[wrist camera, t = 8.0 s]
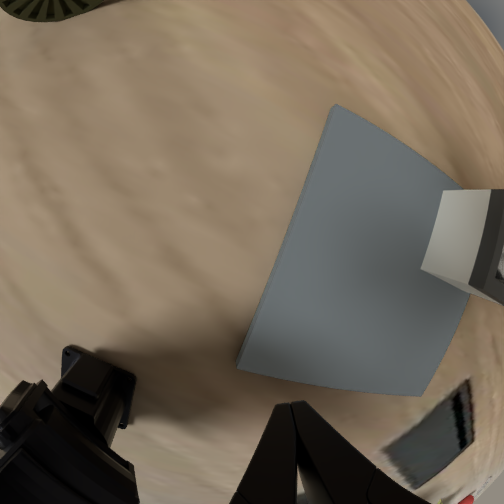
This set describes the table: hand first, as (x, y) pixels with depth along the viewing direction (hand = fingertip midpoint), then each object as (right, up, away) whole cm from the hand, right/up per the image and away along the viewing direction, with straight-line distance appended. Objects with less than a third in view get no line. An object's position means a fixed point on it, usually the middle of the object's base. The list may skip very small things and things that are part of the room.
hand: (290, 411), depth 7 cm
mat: (+10, +2, +14) cm, 17 cm away
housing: (+17, +5, +14) cm, 23 cm away
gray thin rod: (+77, -75, +34) cm, 113 cm away
